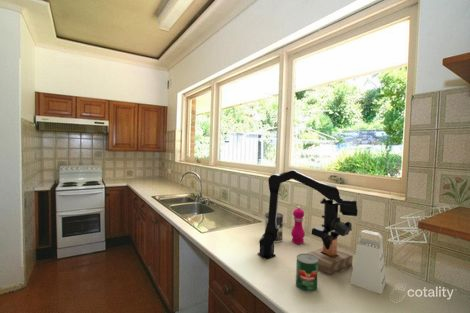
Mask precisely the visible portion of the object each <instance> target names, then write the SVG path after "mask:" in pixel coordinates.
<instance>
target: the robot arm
mask: <svg viewBox="0 0 470 313" xmlns="http://www.w3.org/2000/svg"><path fill="white" fill-rule="evenodd" d="M290 180H294V181H297V182H298V183H301V184H303V185H305V186H307V187H309V188H311V189H312V190H313V189H314V190H315V191H317V192H318V193H320V194H321V195H322V196H323V198H322V199H320V201H319V202H320V204H323V206H324V207H323V214H322V215H321V218H322V219H323V223H322V224H321V226H315V227H312V229H311V235H313V236H316V237H317V238H320V239H321V240H322V244H323V243H324V245H325V248H326V249H329V244H330V238H332V237H333V238H336V239H337V240H338V237H339V236H341V237H345V236H348V235H349V233H350V232H352V231H353V229H352V228H353V226H352V223H351V222H350V221H346V222H345V221H341V217H340V216H339V215H338V214H340V213H341V215H342V216H347V217H357V216H358V213H359V212H358V207H357V206H358V205H357V204H358V203H357V202H358V201H357V200H355V199H350V200H349V199H343V197H342V196H340V191H339V189H338V188H337V186H335V185H334V184H331V183H330V184H329V183H326V182H322V181H319V180H316V179H314V178H313V177H310V176H308V175H305V174H303V173H301V172H299V171H297V170H296V169H290V170H289V171H286V172H281V173H273V174H272V175H270V176H269V177H268V180H267V181H268V189H269V203H268V204H269V205H268V213H269V215H268V223H267V226H266V230H265V229H264V233H263V234H262V235H261V237H260V239H259V240H258V241H259V242H258V243H259V252H257V255H258V256H260V257H262V258H263V259H265V260H268V259H271V258H274V257H276V256H277V255H276V254H275V242H274V241H275V240H276V238H278V235H279V227H280V225H277V222H276V219H277V213H278V207H279V206H278V205H279V194H280V190H281V188H282V184H283V183H284V182H288V181H290ZM326 198H327V199H326Z"/></svg>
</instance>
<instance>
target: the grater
mask: <svg viewBox="0 0 470 313" xmlns="http://www.w3.org/2000/svg"><path fill="white" fill-rule="evenodd" d="M362 233H366V234H369V235H373V236H378V237H379V241H376V240H371V239H366V238H361V237H362ZM366 244H367V245H366ZM384 255H385V254H384V245H383V236H382V234H381V233H380V232H376V231H371V230H367V229H363V230H361V231H360V232H359V234H358V242H357V245H356V250H355V255H354V260H353V265H352V272H351V278H350V284H351V285H354V286H356V287H360V288H362V289H366V290H369V291H371V292H374V293H377V294H381V295H382V294H383V290H384V288H385V286H386V282H387V277H386V268H385V265H386V264H385V256H384Z"/></svg>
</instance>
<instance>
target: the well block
mask: <svg viewBox="0 0 470 313" xmlns="http://www.w3.org/2000/svg"><path fill="white" fill-rule="evenodd" d="M306 254H311V255H314V256H316V257H317V258H318V272H321V273H323V274H325V275H327V276H329V277H331V276H333V275H335V274H337V273H340V272H342V271H345V270H346V269H348V268H351V267H353V261H354V260H353V258H354V257H353V256H354V255H353V254H351V253H349V252H346V251H343V250H341V249H339V248H337V255H334V256H331V255H329V254H326V253H324V252H323V247H322V248H321V247H320V248H318V249H315V250H313V251H308V252H306Z"/></svg>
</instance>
